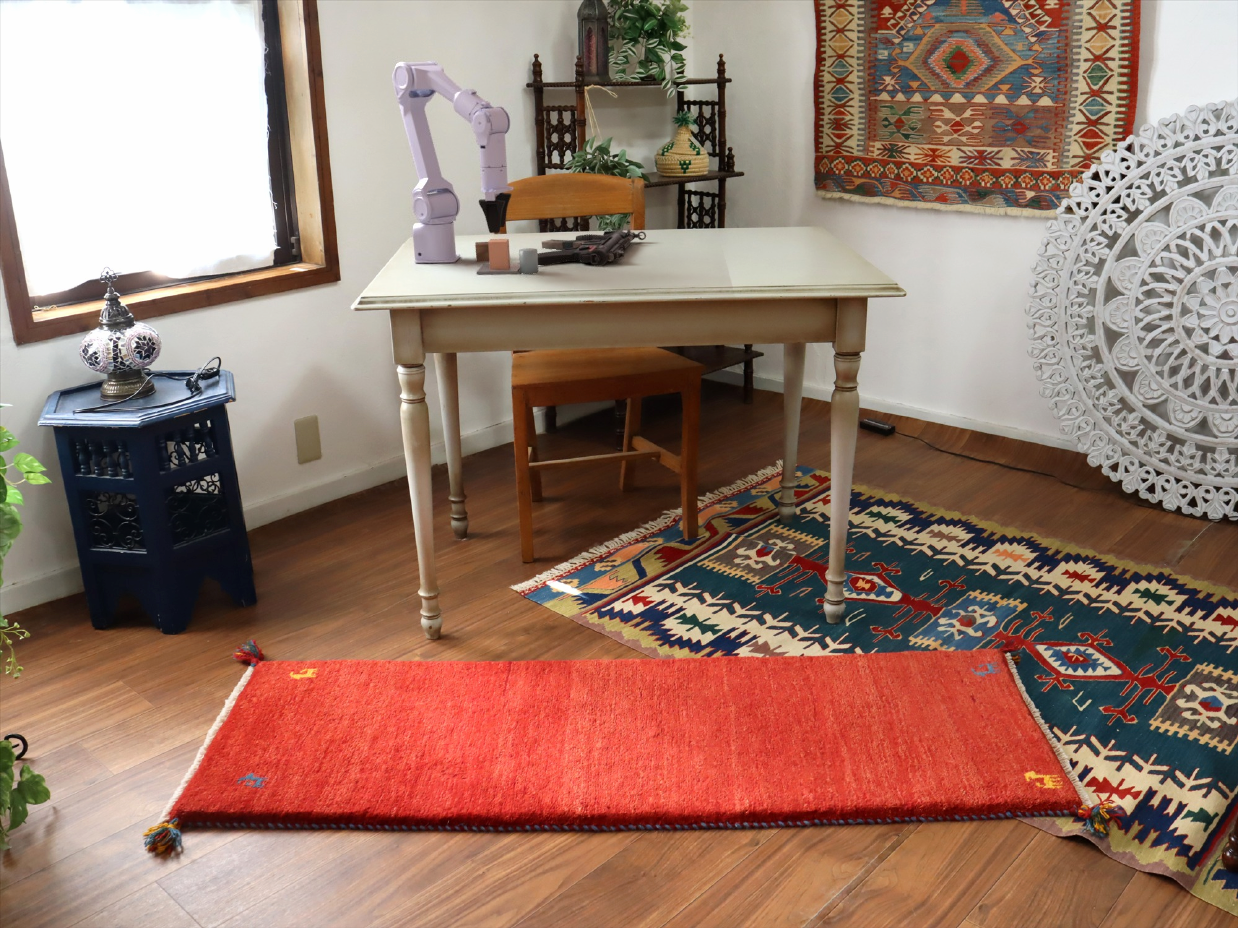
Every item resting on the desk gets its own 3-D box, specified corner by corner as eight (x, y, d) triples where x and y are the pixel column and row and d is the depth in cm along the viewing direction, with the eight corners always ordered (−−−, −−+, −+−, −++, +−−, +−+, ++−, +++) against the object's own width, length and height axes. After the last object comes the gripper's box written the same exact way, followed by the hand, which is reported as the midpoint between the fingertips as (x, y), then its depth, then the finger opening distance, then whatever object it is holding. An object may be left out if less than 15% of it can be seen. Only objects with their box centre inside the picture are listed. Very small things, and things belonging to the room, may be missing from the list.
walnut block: (476, 262, 248) (475, 245, 246) (476, 259, 252) (475, 242, 250) (498, 261, 248) (496, 244, 247) (497, 258, 252) (496, 241, 251)
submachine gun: (550, 230, 271) (646, 225, 266) (551, 247, 272) (647, 243, 268) (516, 253, 241) (624, 247, 236) (518, 272, 242) (626, 267, 238)
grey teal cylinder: (519, 274, 233) (517, 251, 231) (521, 271, 236) (520, 248, 235) (537, 274, 232) (536, 251, 231) (539, 270, 236) (538, 248, 234)
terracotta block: (490, 269, 236) (488, 242, 233) (492, 265, 239) (490, 239, 237) (507, 269, 235) (506, 242, 233) (510, 265, 239) (508, 238, 237)
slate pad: (476, 274, 234) (476, 271, 233) (483, 266, 242) (483, 264, 242) (517, 273, 233) (517, 271, 233) (522, 266, 242) (522, 263, 241)
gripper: (507, 170, 222) (510, 235, 227) (516, 162, 236) (519, 224, 241) (473, 170, 223) (478, 235, 228) (484, 163, 236) (488, 224, 241)
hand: (497, 229), depth 234 cm, fingers open, 7 cm apart
